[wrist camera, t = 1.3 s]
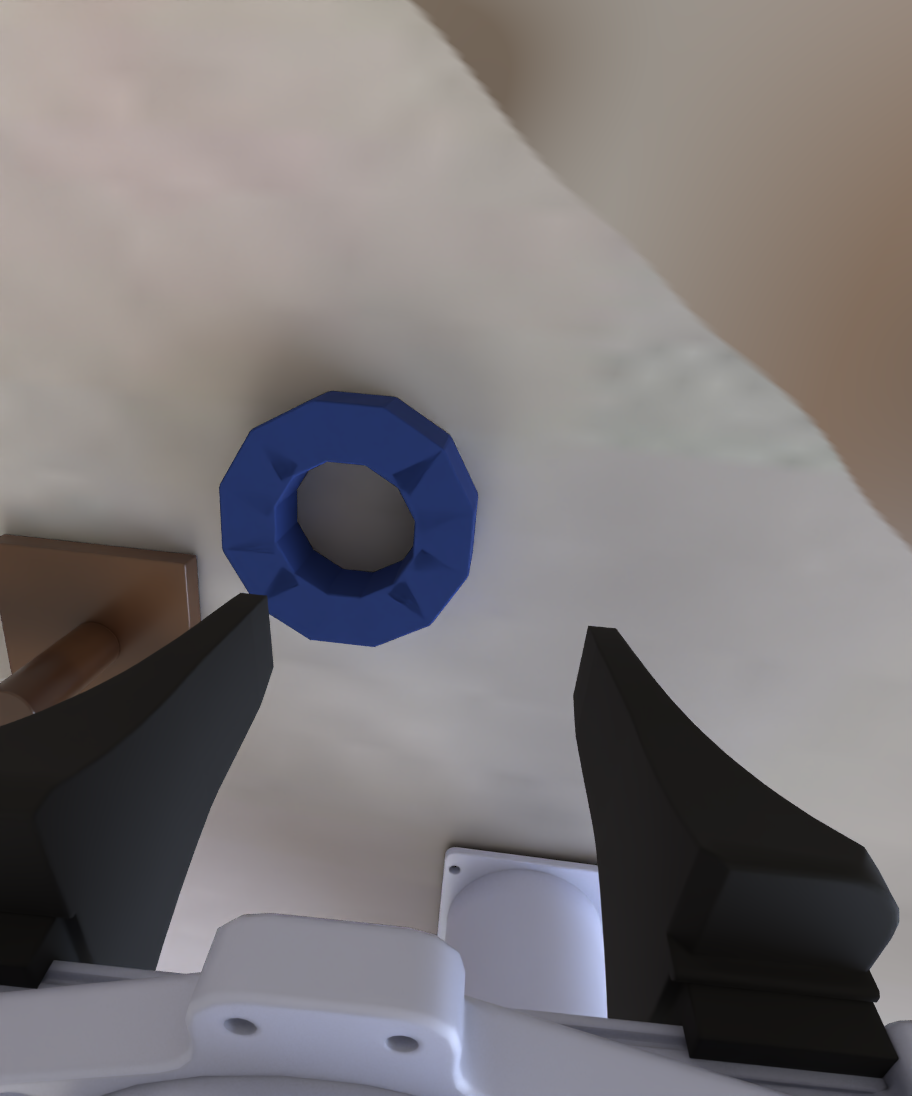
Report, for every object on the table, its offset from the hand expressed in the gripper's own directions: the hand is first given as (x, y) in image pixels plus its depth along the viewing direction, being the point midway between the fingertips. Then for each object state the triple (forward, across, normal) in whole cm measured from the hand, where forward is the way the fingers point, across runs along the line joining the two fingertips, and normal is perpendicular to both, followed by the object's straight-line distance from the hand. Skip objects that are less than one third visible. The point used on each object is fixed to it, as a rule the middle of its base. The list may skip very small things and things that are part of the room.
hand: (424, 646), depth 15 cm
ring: (+10, +3, +2) cm, 11 cm away
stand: (+10, +14, +8) cm, 19 cm away
